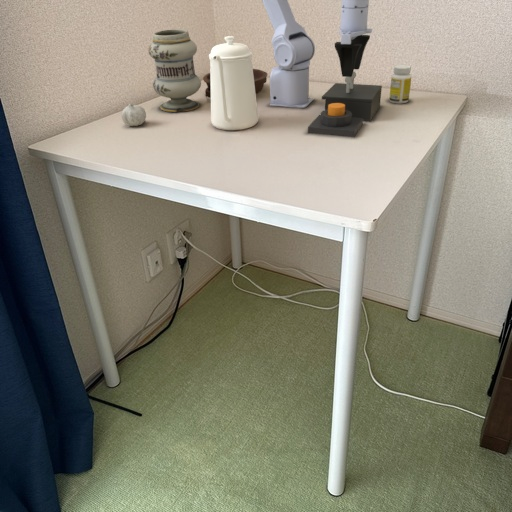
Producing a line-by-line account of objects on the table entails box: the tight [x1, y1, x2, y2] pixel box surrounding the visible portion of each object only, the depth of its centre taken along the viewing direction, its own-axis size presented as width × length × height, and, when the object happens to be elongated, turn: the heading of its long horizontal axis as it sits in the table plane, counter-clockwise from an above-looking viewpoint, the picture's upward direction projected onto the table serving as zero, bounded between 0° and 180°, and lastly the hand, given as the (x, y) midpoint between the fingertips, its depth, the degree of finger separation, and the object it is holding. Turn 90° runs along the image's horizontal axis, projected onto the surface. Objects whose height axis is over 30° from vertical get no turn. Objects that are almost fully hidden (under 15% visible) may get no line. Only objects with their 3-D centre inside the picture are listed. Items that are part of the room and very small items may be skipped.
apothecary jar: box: [148, 28, 202, 113], centre depth 122 cm, size 12×12×18 cm
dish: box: [202, 68, 268, 99], centre depth 135 cm, size 18×22×5 cm
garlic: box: [121, 102, 147, 127], centre depth 114 cm, size 6×5×5 cm
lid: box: [321, 71, 383, 103], centre depth 114 cm, size 11×13×4 cm
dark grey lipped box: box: [324, 88, 383, 123], centre depth 116 cm, size 11×13×4 cm
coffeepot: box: [208, 35, 259, 131], centre depth 108 cm, size 11×25×19 cm, turn 168°
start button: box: [328, 103, 345, 116], centre depth 105 cm, size 4×4×2 cm
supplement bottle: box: [388, 64, 412, 105], centre depth 121 cm, size 5×5×8 cm
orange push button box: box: [307, 109, 364, 138], centre depth 106 cm, size 10×9×4 cm
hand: (350, 72), depth 113 cm, fingers open, 7 cm apart
